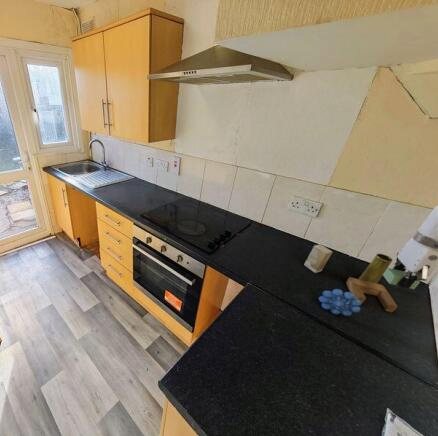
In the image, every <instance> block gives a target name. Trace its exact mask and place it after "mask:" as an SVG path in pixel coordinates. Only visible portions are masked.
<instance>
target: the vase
mask: <svg viewBox="0 0 438 436" xmlns="http://www.w3.org/2000/svg"><path fill="white" fill-rule="evenodd" d="M392 263H393V258H392V257H391V256H390V255H387V254H384V253H376V254H375V256H374V257H373V259H372V261H370V263H369V264H368V265H367V267H366V268H365V270H364V271H363V272H362V274H361V275H360V276H359V277H358V279H360V280H364V281H368V282H372V283H376V284H379V282H380V280H381V279H382V277H383V274H384V272H385V271H386V269H387V268H389V267H390V265H391V264H392Z"/></svg>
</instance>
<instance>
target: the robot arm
mask: <svg viewBox="0 0 438 436" xmlns="http://www.w3.org/2000/svg"><path fill="white" fill-rule="evenodd" d="M395 260H396V262H394V266H393V268H392V269H396V270H400V271H405V272H407V274H406V277H404V276H403V277H402V279H401V280H400V281H399V283H398V284H397V285H398V286H397V285H396V286H397V287H400V288H401V287H402V288H405V289H406V288H407V289H410V287H411V285H412V284H413V283H414V282H415V281H418V280H419V281H427V280H428V277H430V276H431V275H432V274H433V273H434V271H435V270H436V269H437V267H438V204H437V205H435V207H433V209H432V210H431V212H429V215H428V216H427V217H426V219H425V220H424V221H423V223H421V226H420V227H419V228H418V229H417V230H416V232H415V233H414V235H413V236H412V237H411V238H410V239H409V240H408V241H407V242H406V243H405V244H404V245H403V246H402V248H401V249H399V251H397V252H396V259H395ZM412 274H413V276H411V275H412Z"/></svg>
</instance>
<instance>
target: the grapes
mask: <svg viewBox="0 0 438 436" xmlns="http://www.w3.org/2000/svg"><path fill="white" fill-rule="evenodd" d="M354 297H355V296H354V294H353V293H351V292H350V291H346V292H344V291H343V290H342V289H339V288H335V289H333V290H332V291H331V290H323V292H322V295H321V296H319V297H318V301H319V302H320V303H321V307H322V309H324V310H329V311H330V313H331V314H332V315H340V314H342V315H343V316H345V317H349V316H351V315H353V313H355V314H356V313H360V312H361V307H360V306H361V305H363V303H361V301H360V300H359V299H356V298H354Z"/></svg>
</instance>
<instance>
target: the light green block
mask: <svg viewBox="0 0 438 436" xmlns="http://www.w3.org/2000/svg"><path fill="white" fill-rule="evenodd" d="M407 272H408V271H406V270H405V271H400V270H396V269H393V268H390V267H388V268H387V269H386V271H385V272H384V274H383V275H382V277H384V279H385V280H386V282H388V284H390V285H394V286H397V287H399V286H398V285H397V284H398V283H399V281H400V280H401V279H402V277H403V276H404V277H406V274H407ZM413 275H414V273H412V275H411V276H413ZM420 283H421V282H420V280H418V281H415V282H414V283H413V284H412V285H411V287H410V288H409V289H411V290H415V289H416V288H417V286H418V285H419V284H420Z"/></svg>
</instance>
